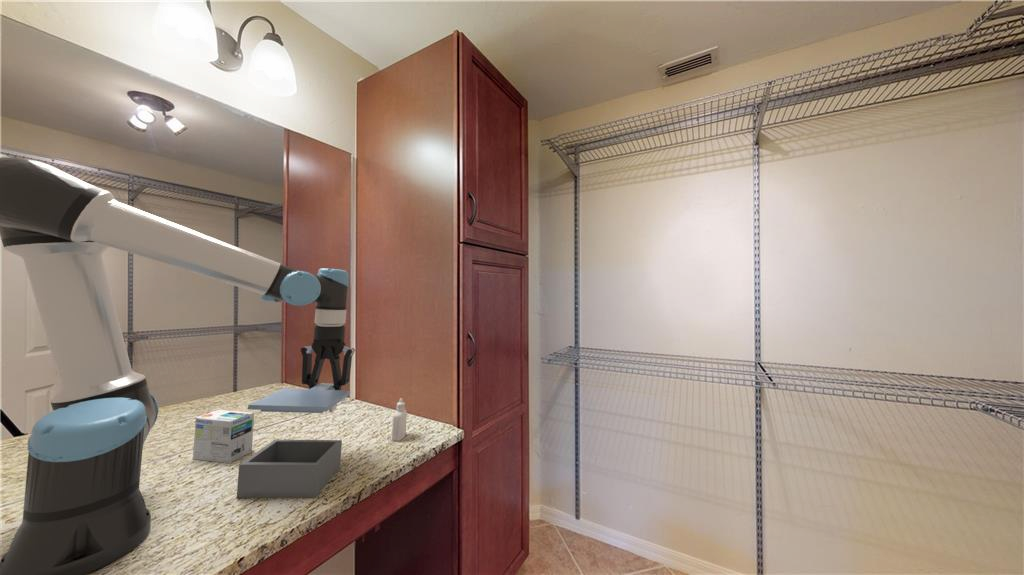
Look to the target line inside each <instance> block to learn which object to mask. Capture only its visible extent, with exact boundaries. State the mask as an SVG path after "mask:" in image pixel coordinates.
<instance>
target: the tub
mask: <svg viewBox="0 0 1024 575" xmlns="http://www.w3.org/2000/svg"><path fill="white" fill-rule="evenodd" d="M342 441H343V439H342V440H341V439H338V440H336V439H280V438H279V439H276V438H275V439H273V440H271V442H269V443H268V444H266V446H265V445H264V447H262V448H260V449H259V450H257V452H255V453H253V454H252V455H251V456H249V457H248V458H246V459H245V460H244V461H242V462H241V463H240V464H238V475H237V488H236V489H237V490H236V499H293V498H294V499H302V498H303V499H304V498H305V499H307V498H308V499H316V498H317V497H318V496H319V494H320V493H321V492H322V491H323V490H324V488H326V486H327V485H328V484H329V483H330V481H331V480H332V479H333V477H335V475H336V474H337V473H338V472H339V470H340V469H341V461H342V460H341V457H342V443H343V442H342Z"/></svg>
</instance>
